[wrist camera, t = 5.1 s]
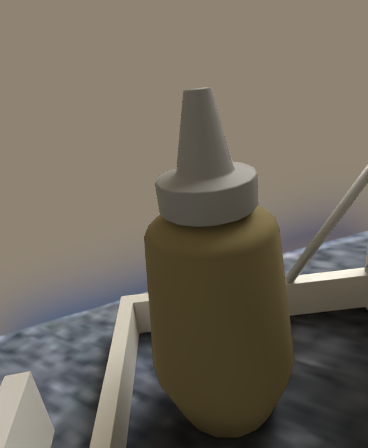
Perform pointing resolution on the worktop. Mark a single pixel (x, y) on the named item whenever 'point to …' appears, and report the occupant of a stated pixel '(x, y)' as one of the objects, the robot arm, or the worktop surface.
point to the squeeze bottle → (216, 284)
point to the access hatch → (298, 304)
